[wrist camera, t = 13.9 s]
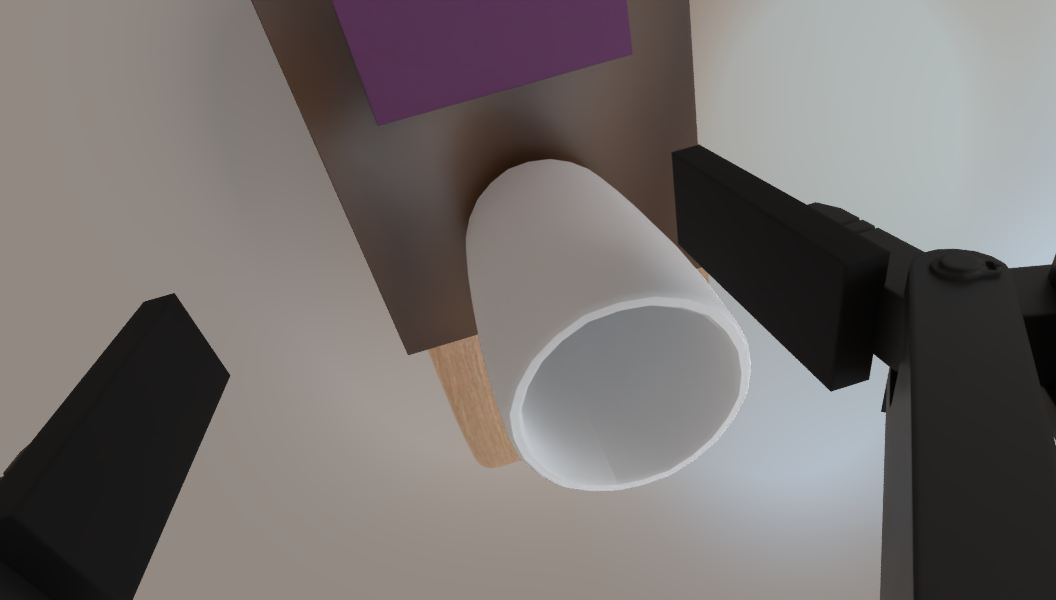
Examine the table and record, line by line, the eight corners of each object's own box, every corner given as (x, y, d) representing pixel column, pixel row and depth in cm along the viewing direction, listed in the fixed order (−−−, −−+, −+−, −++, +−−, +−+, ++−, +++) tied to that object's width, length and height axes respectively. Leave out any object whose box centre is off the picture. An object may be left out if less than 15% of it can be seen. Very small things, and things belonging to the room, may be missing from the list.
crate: (409, 200, 53) (408, 355, 31) (306, -79, 41) (184, -151, 19) (584, 150, 54) (705, 266, 32) (534, -139, 42) (673, -277, 20)
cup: (627, 146, 27) (800, 276, 15) (605, 293, 31) (727, 486, 19) (456, 144, 26) (497, 287, 14) (458, 299, 30) (490, 514, 18)
